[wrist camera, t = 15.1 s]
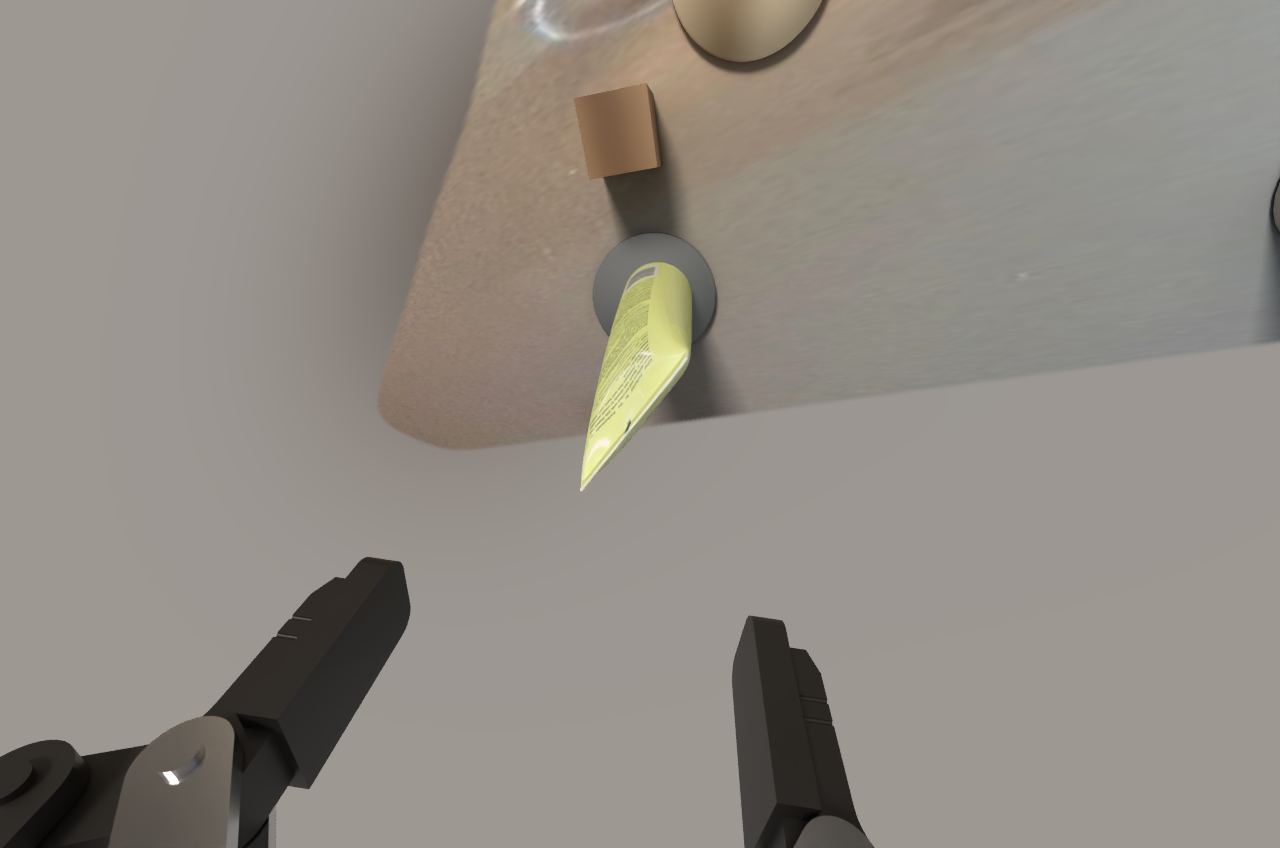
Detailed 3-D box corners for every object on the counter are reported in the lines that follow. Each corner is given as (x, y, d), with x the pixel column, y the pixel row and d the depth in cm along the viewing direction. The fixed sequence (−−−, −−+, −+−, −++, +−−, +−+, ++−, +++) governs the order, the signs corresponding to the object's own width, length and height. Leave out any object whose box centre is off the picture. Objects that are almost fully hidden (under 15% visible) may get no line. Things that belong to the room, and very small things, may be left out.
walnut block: (652, 93, 30) (646, 83, 26) (661, 165, 32) (657, 167, 28) (590, 106, 31) (574, 98, 26) (602, 176, 33) (589, 179, 28)
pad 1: (726, 240, 34) (726, 242, 33) (703, 361, 38) (704, 363, 38) (598, 224, 34) (596, 225, 34) (591, 345, 38) (589, 348, 38)
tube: (695, 333, 37) (700, 489, 20) (629, 339, 37) (578, 494, 20) (689, 255, 34) (689, 357, 17) (618, 263, 35) (549, 368, 18)
